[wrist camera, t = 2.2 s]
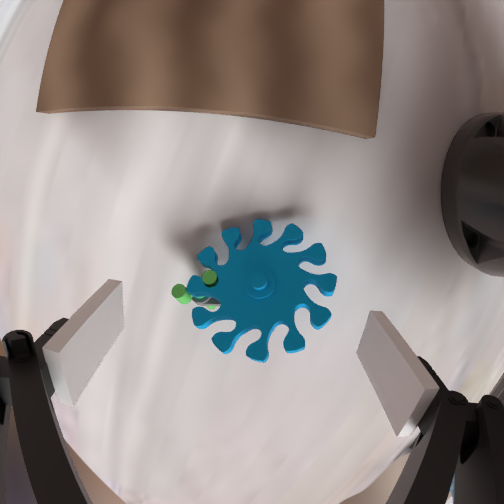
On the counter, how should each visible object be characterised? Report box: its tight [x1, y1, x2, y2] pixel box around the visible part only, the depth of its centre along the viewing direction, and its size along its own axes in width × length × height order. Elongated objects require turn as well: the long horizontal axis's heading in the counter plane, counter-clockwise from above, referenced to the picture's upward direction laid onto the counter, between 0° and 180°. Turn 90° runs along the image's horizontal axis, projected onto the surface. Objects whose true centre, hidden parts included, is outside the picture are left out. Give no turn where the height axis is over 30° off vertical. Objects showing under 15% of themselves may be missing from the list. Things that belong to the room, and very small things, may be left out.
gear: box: [172, 219, 337, 363], centre depth 22 cm, size 11×6×10 cm
